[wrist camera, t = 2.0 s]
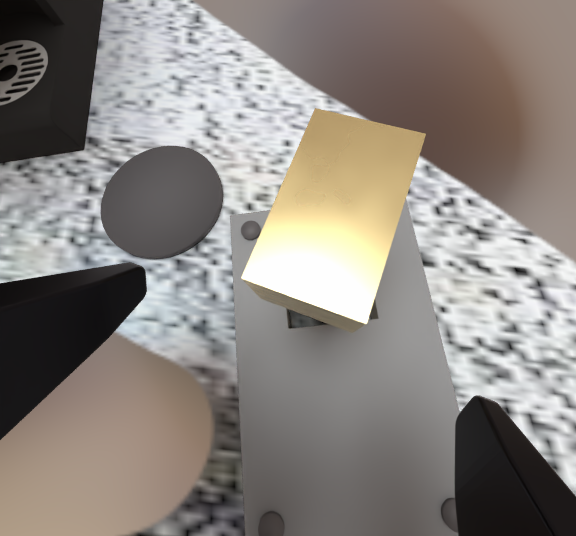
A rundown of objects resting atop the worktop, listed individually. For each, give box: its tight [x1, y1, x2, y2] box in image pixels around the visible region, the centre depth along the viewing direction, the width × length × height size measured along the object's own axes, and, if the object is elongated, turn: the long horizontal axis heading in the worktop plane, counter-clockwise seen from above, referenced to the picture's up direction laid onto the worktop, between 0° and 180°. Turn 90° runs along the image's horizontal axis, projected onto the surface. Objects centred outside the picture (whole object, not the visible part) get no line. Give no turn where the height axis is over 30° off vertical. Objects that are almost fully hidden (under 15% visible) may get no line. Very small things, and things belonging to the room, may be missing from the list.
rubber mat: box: [101, 146, 223, 259], centre depth 22 cm, size 9×9×1 cm
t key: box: [241, 108, 426, 333], centre depth 14 cm, size 6×4×11 cm, turn 159°
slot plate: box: [230, 199, 460, 536], centre depth 17 cm, size 18×11×2 cm, turn 6°
